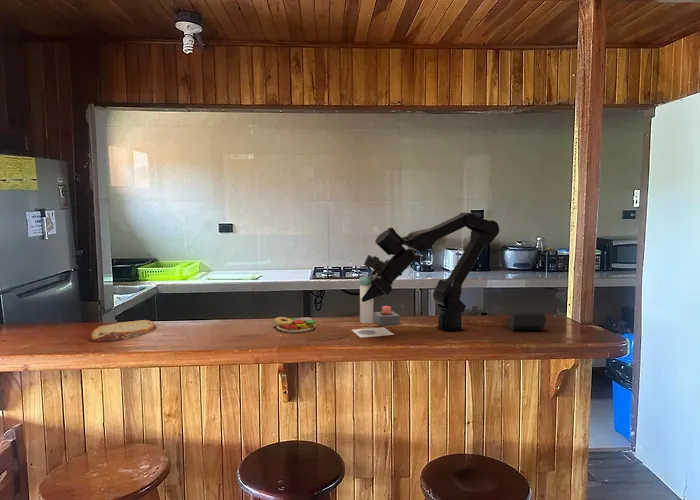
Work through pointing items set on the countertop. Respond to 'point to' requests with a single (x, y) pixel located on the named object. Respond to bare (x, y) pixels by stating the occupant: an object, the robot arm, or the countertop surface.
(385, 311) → the button
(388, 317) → the button housing
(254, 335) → the countertop surface
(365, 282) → the teal and white bottle
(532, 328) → the end cap
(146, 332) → the slice of bread
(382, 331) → the paper
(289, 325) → the toy food set
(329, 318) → the countertop surface
